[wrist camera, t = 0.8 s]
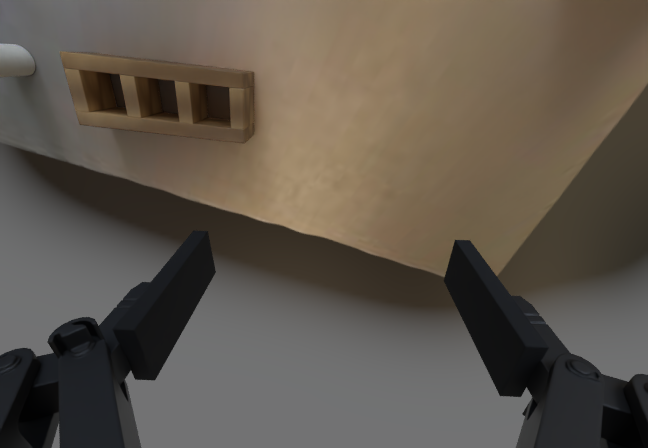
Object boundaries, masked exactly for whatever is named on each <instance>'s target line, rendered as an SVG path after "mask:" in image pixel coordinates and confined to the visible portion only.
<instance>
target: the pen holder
mask: <svg viewBox="0 0 648 448" xmlns="http://www.w3.org/2000/svg"><path fill="white" fill-rule="evenodd" d="M60 56H61V59H62V63H63V66H64V70H65V74H66V78H67V81H68V85H69V88H70V92H71V96H72V99H73V103H74V106H75V110H76V113H77V117H78V120H79V124H80V125H86V126H95V127H104V128H113V129H122V130H131V131H139V132H148V133H157V134H166V135H175V136H184V137H193V138H201V139H210V140H219V141H228V142H237V143H245V142H246V141H248V140H249V139H250V138H251V137H252V136H253V135H254V72H251V71H243V70H234V69H226V68H217V67H209V66H201V65H192V64H184V63H175V62H167V61H158V60H150V59H141V58H133V57H125V56H116V55H108V54H99V53H87V52H62V51H60ZM110 74H118V75H120V80H121V85H122V90H123V95H124V100H125V105H126V108H123V107H116V101H115V96H114V92H113V87H112V82H111V78H110ZM158 79H161V80H170V81H175V89H176V97H177V106H178V114H175V113H167V112H163V110H162V103H161V96H160V89H159V82H158ZM206 85H212V86H221V87H230V88H229V97H230V120H228V119H219V118H210V117H209V115H208V102H207V89H206Z"/></svg>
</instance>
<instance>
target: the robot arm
mask: <svg viewBox="0 0 648 448" xmlns="http://www.w3.org/2000/svg"><path fill="white" fill-rule="evenodd" d="M215 272H216V271H215V266H214V261H213V256H212V251H211V246H210V240H209V236H208V231H193V232H192V233H191V234H190V236H189V237H188V238H187V239H186V241H185V242H184V243H183V244H182V245H181V246H180V248H179V249H178V250H177V251H176V253H175V254H174V255H173V256H172V257H171V259H170V260H169V261H168V262H167V263H166V264H165V266H164V267H163V268H162V269H161V271H160V272H159V273H158V274H157V275H156V277H155V278H154V279H153V280H152V281H151V282H142V283H140V284H139V285H138V286H136V287H134V288H133V289H131V290H130V291H129V293H128V294H127V295H126V296H125V297H124V298H123V300H122V301H121V302H120V303H119V304H118V305H117V307H116V308H114V309H113V311H112V312H111V313H110V314H109V315H108V316H107V317H106V319H105V320H104V321H103V322H102V323H101V324H100V325H99V326H98V324H97V322H96V321H95V319H93V318H90V317H82V318H78V319H74V320H71V321H69V322H67V323H65V324H63V325H61V326H60V327H59V328H57V329H56V330H55V331H54V332H53V333H52V334H51V335H50V336H49V339H48V344H49V345H50V347H51V348H52V350H53V352H54V353H52V354H47V355H42V356H37V357H36V355H35V354H34V352H33V351H32V350H31V349H27V348H20V349H15V350H12V351H9V352H6V353H4V354H2V355H1V356H0V448H51V447H52V444H53V440H54V437H55V434H56V430H57V427H58V423H59V429H60V430H59V431H60V432H59V433H60V448H141V445H140V440H139V436H138V431H137V427H136V422H135V418H134V414H133V409H132V405H131V400H130V396H129V391H128V387H127V384H126V381H125V378H126V376H127V375H128V373H129V372H130V370H131V371H132V373H133V375H134V378H135V379H137V380H155V379H156V378H157V376H158V374H159V372H160V370H161V369H162V367H163V365H164V363H165V362H166V360H167V358H168V356H169V354H170V353H171V351H172V349H173V347H174V345H175V344H176V342H177V340H178V338H179V337H180V335H181V333H182V331H183V330H184V328H185V326H186V324H187V322H188V321H189V319H190V317H191V315H192V314H193V312H194V310H195V308H196V306H197V304H198V303H199V301H200V299H201V298H202V296H203V294H204V292H205V290H206V289H207V287H208V285H209V283H210V282H211V280H212V278H213V276H214V274H215ZM444 282H445V284H446V286H447V288H448V290H449V292H450V294H451V296H452V299H453V301H454V303H455V305H456V307H457V309H458V311H459V313H460V315H461V317H462V319H463V321H464V323H465V325H466V327H467V329H468V331H469V333H470V335H471V337H472V339H473V342H474V343H475V345H476V348H477V350H478V352H479V354H480V356H481V358H482V360H483V362H484V364H485V366H486V368H487V370H488V372H489V374H490V376H491V378H492V380H493V382H494V384H495V386H496V389H497V390H498V393H499V395H500V396H513V397H521V396H522V394H523V392H524V390H525V388H526V387H527V388H528V390H529V392H530V394H531V395H532V399H531V401H530V402H529V404H528V406H527V407H526V409H525V411H524V412H523V415H524V416H525V419H524V423H523V426H522V429H521V433H520V436H519V439H518V443H517V446H516V448H648V375H644V374H637V375H635V376H634V377H632V379H631V380H630V381H629V382H627V381H623V380H620V379H617V378H613V377H610V376H606V375H603V374H601V372H600V371H599V370H598V369H597V368H596V367H595V366H594V365H593V364H591V363H590V362H589V361H587V360H585V359H583V358H582V357H579V356H576V355H574V354H571V353H570V352H569V351H568V350H567V348H566V347H565V346H564V345H563V343H562V342H561V341H560V340H559V338H558V337H557V336H556V335H555V333H554V332H553V331H552V330H551V328H550V327H549V326H548V325H547V324H546V322H545V321H544V320H543V318H542V317H541V316H539V313H538V312H537V311H536V310H535V308H534V307H533V306H532V305H531V304H530V303H529V302H527V301H526V300H525V299H523V298H522V297H520V296H511V295H510V294H509V293H508V291H507V290H506V289H505V287H504V286H503V284H502V283H501V282H500V280H499V279H498V278H497V276H496V275H495V274H494V272H493V271H492V270H491V268H490V267H489V266H488V264H487V263H486V262H485V260H484V259H483V257H482V256H481V255H480V253H479V252H478V251H477V249H476V248H475V247H474V245H473V244H472V243H471V241H470V240H455V243H454V246H453V250H452V253H451V257H450V261H449V264H448V268H447V271H446V275H445V279H444Z"/></svg>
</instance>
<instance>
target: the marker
mask: <svg viewBox="0 0 648 448" xmlns="http://www.w3.org/2000/svg"><path fill="white" fill-rule="evenodd" d="M34 71H35V62H34V59H33V57H32V56H31V54H30V53H29V52H28V51H27V50H26V49H24V48H23V47H21V46H19V45H15V44H0V77H12V76H30V75H32V74H33V73H34Z"/></svg>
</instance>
